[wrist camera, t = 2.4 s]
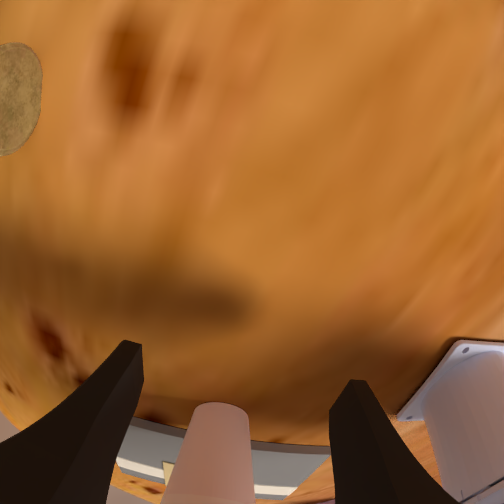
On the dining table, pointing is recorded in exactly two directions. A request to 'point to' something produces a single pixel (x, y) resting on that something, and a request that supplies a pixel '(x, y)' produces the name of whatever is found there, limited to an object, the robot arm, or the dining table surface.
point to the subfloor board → (263, 454)
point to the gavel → (18, 95)
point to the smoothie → (213, 459)
